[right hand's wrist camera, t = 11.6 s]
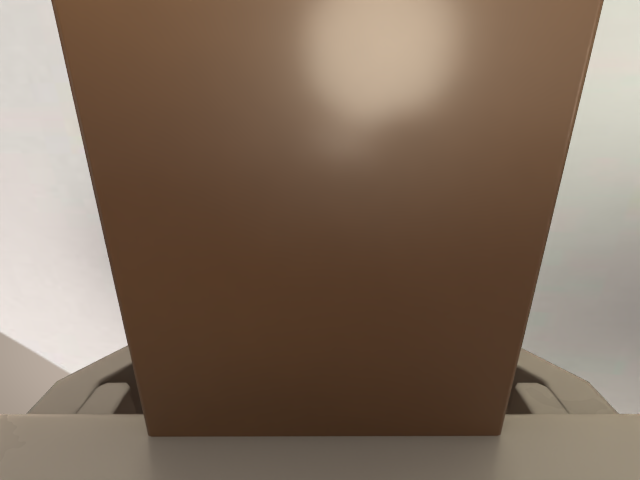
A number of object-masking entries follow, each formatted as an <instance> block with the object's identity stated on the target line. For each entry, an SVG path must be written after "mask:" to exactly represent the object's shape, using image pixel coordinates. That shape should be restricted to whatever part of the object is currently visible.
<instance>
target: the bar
mask: <svg viewBox="0 0 640 480" xmlns="http://www.w3.org/2000/svg"><path fill="white" fill-rule="evenodd" d="M51 1H52V5H53V10H54V14H55V19H56V23H57V28H58V32H59V37H60V41H61V46H62V50H63V55H64V59H65V64H66V68H67V73H68V77H69V82H70V86H71V91H72V95H73V100H74V104H75V109H76V113H77V118H78V122H79V127H80V131H81V136H82V140H83V145H84V149H85V154H86V158H87V163H88V167H89V172H90V176H91V181H92V185H93V190H94V194H95V199H96V203H97V208H98V212H99V217H100V221H101V226H102V230H103V235H104V239H105V244H106V248H107V253H108V257H109V262H110V266H111V271H112V275H113V280H114V284H115V289H116V293H117V298H118V302H119V307H120V311H121V316H122V320H123V325H124V329H125V334H126V338H127V343H128V347H129V352H130V356H131V361H132V365H133V370H134V374H135V379H136V383H137V388H138V392H139V397H140V401H141V406H142V410H143V415H144V419H145V424H146V428H147V433H148V436H151V437H252V436H498V435H501V431H502V427H503V422H504V418H505V414H506V410H507V406H508V401H509V397H510V393H511V389H512V385H513V380H514V376H515V372H516V368H517V363H518V359H519V355H520V351H521V347H522V342H523V338H524V334H525V330H526V326H527V321H528V317H529V313H530V309H531V304H532V300H533V296H534V292H535V288H536V283H537V279H538V275H539V271H540V267H541V262H542V258H543V254H544V250H545V245H546V241H547V237H548V233H549V229H550V224H551V220H552V216H553V212H554V208H555V203H556V199H557V195H558V191H559V187H560V182H561V178H562V174H563V170H564V165H565V161H566V157H567V153H568V149H569V144H570V140H571V136H572V132H573V128H574V123H575V119H576V115H577V111H578V106H579V102H580V98H581V94H582V90H583V85H584V81H585V77H586V73H587V69H588V64H589V60H590V56H591V52H592V47H593V43H594V39H595V35H596V31H597V26H598V22H599V18H600V14H601V10H602V5H603V1H604V0H51Z"/></svg>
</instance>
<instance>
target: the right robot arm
mask: <svg viewBox="0 0 640 480" xmlns="http://www.w3.org/2000/svg"><path fill="white" fill-rule="evenodd" d="M0 480H640V414H618V412H617V411H616V410H615V409H614V408H613V407H612V406H611V405H610V404H609V403H608V402H607V401H606V400H605V399H604V398H603V397H602V396H601V395H600V394H599V393H598V391H597V390H596V389H595V388H594V387H593V386H592V385H591V384H590V383H589V382H588V381H586V380H584V379H582V378H580V377H578V376H576V375H574V374H572V373H570V372H568V371H566V370H564V369H562V368H560V367H558V366H556V365H554V364H552V363H550V362H548V361H546V360H544V359H542V358H540V357H538V356H536V355H534V354H532V353H530V352H528V351H526V350H524V349H522V348H521V351H520V355H519V359H518V363H517V368H516V372H515V376H514V380H513V385H512V389H511V393H510V397H509V401H508V406H507V410H506V414H505V418H504V422H503V427H502V431H501V435H498V436H252V437H151V436H148V433H147V428H146V424H145V419H144V415H143V410H142V406H141V401H140V397H139V392H138V388H137V383H136V379H135V374H134V370H133V365H132V361H131V356H130V352H129V347H128V346H126V347H124V348H122V349H120V350H118V351H116V352H114V353H112V354H110V355H108V356H106V357H104V358H102V359H100V360H98V361H96V362H94V363H92V364H90V365H88V366H86V367H84V368H82V369H80V370H78V371H76V372H74V373H72V374H70V375H68V376H67V377H65V378H63V379H61V380H59V381H57V382H56V383H55V384H54V385H53V386H52V387H51V388H50V389H49V390H48V391H47V392H46V394H45V395H44V396H43V397H42V398H41V399H40V400H39V401H38V402H37V403H36V404H35V405H34V406H33V407H32V408H31V409H30V411H29V412H28V413H27V414H0Z"/></svg>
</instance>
